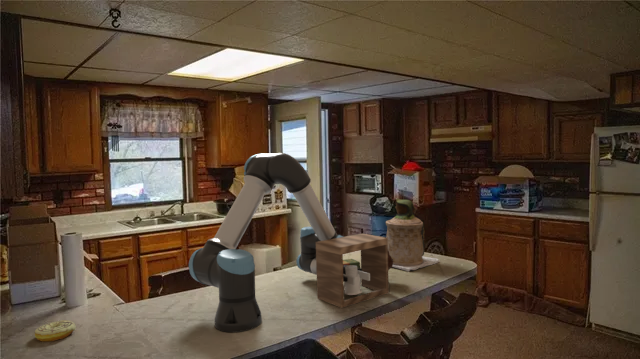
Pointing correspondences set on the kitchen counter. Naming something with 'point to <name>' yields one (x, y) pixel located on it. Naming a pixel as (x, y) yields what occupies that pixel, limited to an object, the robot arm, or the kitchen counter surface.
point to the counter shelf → (332, 267)
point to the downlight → (355, 289)
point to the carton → (351, 262)
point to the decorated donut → (54, 330)
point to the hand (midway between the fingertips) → (361, 279)
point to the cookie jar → (407, 238)
